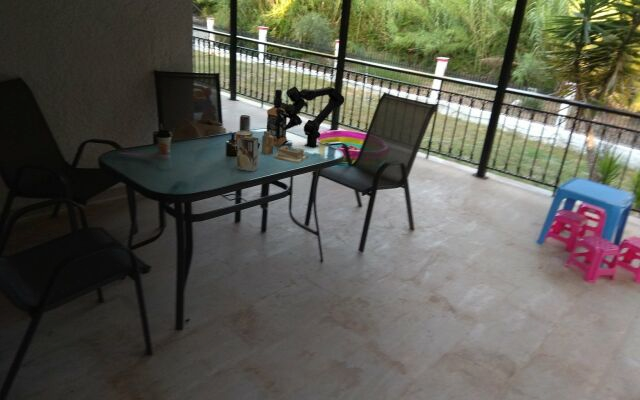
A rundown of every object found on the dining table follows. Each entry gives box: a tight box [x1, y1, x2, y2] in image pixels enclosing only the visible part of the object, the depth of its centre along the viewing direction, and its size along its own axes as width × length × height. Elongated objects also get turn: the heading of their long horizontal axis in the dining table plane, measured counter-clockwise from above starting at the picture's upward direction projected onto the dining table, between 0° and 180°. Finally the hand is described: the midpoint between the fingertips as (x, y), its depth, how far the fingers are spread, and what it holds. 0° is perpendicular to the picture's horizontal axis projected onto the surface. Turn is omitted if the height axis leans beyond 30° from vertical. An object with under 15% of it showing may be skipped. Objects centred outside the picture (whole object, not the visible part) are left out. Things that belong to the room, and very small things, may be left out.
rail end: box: [261, 130, 274, 155], centre depth 254 cm, size 5×4×12 cm
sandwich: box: [272, 145, 309, 164], centre depth 251 cm, size 13×15×5 cm
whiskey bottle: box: [266, 89, 288, 147], centre depth 270 cm, size 10×10×32 cm
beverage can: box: [235, 130, 253, 145], centre depth 249 cm, size 9×9×12 cm
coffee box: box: [236, 136, 259, 173], centre depth 227 cm, size 9×6×16 cm
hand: (279, 127), depth 255 cm, fingers open, 9 cm apart
